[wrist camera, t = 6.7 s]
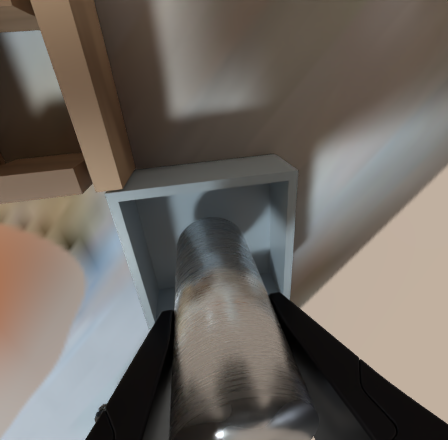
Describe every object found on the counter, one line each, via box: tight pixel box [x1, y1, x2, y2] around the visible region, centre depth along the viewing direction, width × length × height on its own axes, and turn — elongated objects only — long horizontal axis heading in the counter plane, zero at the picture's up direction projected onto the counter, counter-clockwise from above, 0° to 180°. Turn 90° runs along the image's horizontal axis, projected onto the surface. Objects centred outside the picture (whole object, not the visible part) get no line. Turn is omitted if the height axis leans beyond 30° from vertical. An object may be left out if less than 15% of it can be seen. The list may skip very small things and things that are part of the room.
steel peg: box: [169, 217, 319, 440], centre depth 9 cm, size 4×4×8 cm
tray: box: [105, 154, 298, 329], centre depth 13 cm, size 8×8×3 cm
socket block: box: [0, 0, 136, 204], centre depth 9 cm, size 7×7×3 cm
